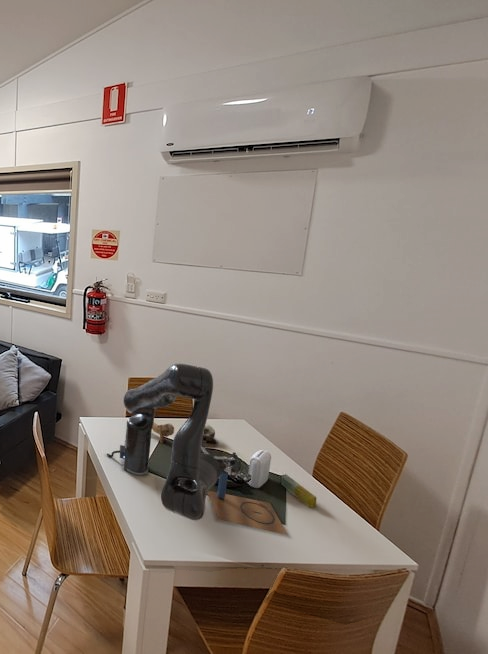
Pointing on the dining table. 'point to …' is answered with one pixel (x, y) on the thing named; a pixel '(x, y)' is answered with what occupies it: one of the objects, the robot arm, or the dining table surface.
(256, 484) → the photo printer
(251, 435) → the dining table surface
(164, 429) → the lion figurine
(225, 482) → the marker
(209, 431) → the skull
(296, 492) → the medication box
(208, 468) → the robot arm
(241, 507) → the face circle
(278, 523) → the sketch board
